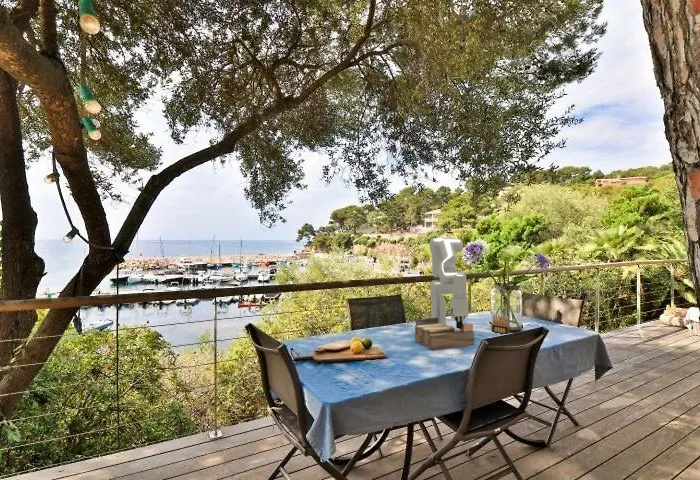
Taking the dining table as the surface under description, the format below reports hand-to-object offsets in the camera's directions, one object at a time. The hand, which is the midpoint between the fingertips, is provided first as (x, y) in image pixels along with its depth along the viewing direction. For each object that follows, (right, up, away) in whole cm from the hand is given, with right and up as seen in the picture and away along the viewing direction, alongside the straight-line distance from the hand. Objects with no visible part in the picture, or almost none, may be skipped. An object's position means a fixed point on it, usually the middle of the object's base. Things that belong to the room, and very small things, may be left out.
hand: (459, 328), depth 245 cm
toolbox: (-8, -9, +6) cm, 14 cm away
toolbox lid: (-13, -1, +6) cm, 14 cm away
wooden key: (+5, -2, +2) cm, 5 cm away
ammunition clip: (+32, -9, +26) cm, 42 cm away
